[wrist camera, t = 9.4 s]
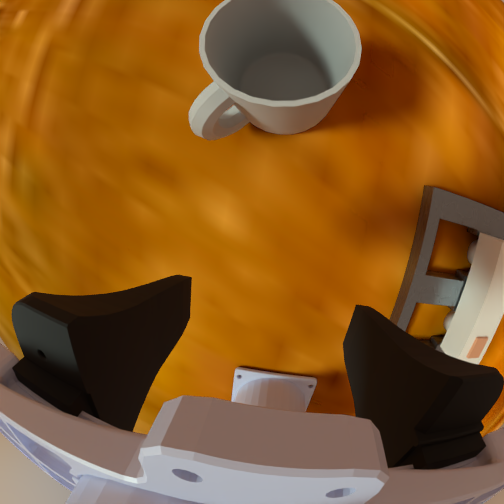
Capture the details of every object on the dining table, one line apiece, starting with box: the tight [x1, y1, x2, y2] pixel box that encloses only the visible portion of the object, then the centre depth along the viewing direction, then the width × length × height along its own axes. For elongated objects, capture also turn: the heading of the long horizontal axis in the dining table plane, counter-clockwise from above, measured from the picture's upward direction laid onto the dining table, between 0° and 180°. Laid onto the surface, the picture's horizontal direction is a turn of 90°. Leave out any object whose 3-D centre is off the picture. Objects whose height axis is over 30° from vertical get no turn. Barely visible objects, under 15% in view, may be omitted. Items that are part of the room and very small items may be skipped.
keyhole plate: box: [390, 185, 504, 354], centre depth 19 cm, size 16×12×2 cm
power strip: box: [440, 232, 504, 364], centre depth 17 cm, size 11×4×5 cm, turn 173°
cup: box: [189, 0, 362, 140], centre depth 13 cm, size 7×10×9 cm
